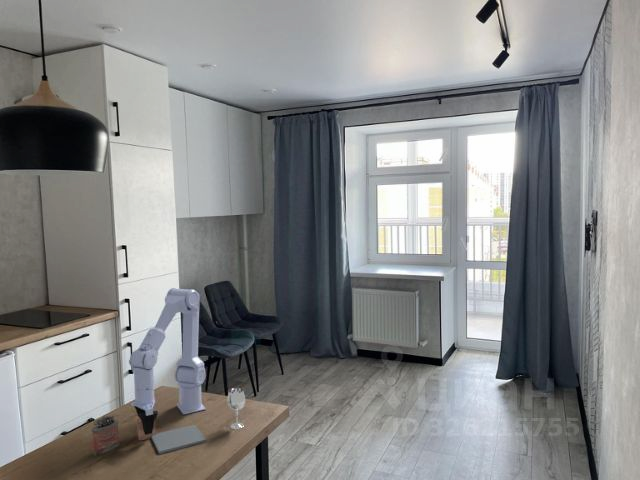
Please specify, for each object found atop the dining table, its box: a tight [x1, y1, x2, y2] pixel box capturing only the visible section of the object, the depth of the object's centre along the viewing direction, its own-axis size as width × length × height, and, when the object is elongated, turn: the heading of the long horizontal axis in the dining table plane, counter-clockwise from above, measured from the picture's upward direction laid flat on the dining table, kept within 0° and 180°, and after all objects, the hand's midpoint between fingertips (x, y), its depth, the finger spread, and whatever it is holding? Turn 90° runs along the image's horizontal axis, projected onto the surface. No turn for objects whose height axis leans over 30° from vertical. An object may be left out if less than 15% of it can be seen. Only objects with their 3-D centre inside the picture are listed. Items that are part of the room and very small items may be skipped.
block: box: [135, 416, 157, 442], centre depth 154 cm, size 4×5×6 cm
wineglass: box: [226, 387, 246, 430], centre depth 159 cm, size 6×6×12 cm
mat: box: [150, 424, 207, 455], centre depth 151 cm, size 12×14×1 cm
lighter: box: [91, 414, 120, 456], centre depth 146 cm, size 8×3×10 cm, turn 145°
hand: (146, 429), depth 154 cm, fingers open, 7 cm apart
